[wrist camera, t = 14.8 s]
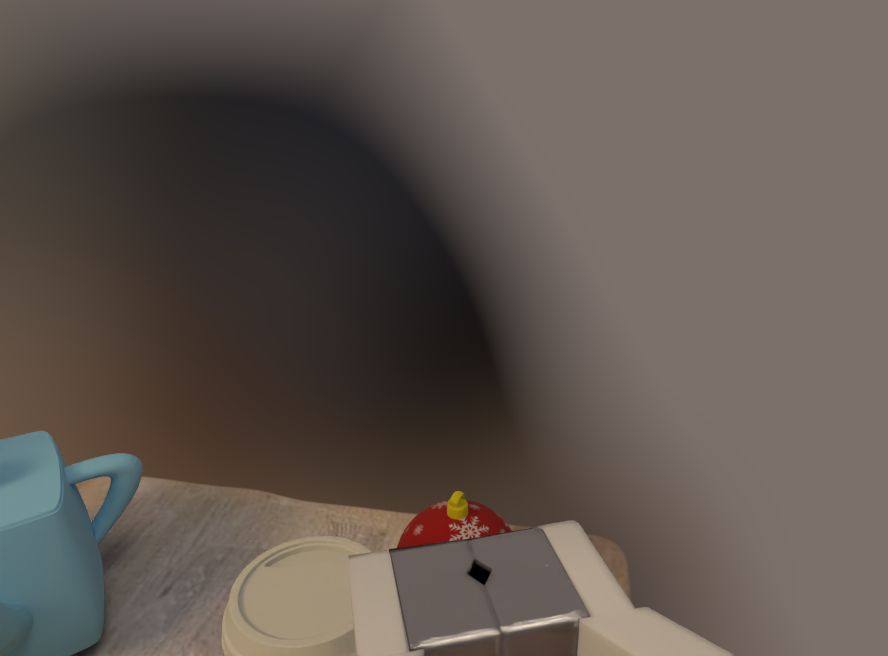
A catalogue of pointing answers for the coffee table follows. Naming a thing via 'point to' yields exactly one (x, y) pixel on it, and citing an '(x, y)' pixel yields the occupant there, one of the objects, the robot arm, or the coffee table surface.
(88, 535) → the teapot
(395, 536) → the coffee table surface
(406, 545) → the christmas ornament
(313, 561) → the coffee cup
